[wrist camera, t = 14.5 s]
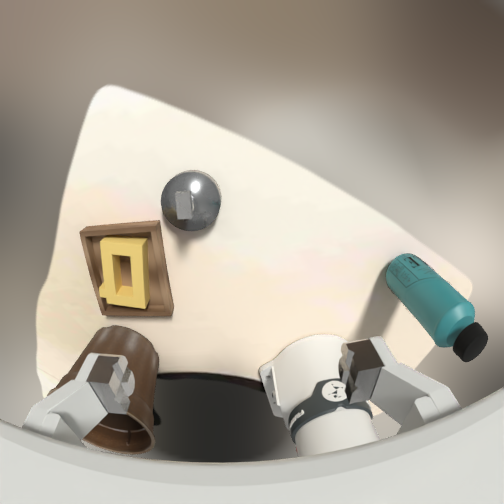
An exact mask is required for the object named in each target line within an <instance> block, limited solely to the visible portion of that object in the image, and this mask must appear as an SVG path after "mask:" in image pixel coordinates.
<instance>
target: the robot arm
mask: <svg viewBox="0 0 504 504" xmlns="http://www.w3.org/2000/svg"><path fill="white" fill-rule="evenodd" d="M127 364H128V361H127V359H126V357H125V356H123V355H112V354H98V353H90V354H88V356H87V358H86V359H85V361H84V363H83V365H82V367H81V369H80V371H79V373H78V375H77V376H76V378H75V380H71V381H69V382H68V383H66V384H65V385H63V386H62V387H60V388H59V389H57V390H56V391H55V392H53V393H52V394H50V395H49V396H47V397H46V398H44V399H43V400H41V401H40V402H38V403H37V404H35V405H34V406H33V407H32V409H31V410H30V412H29V414H28V416H27V418H26V420H25V422H24V424H23V426H22V428H21V427H18V426H16V425H13V424H11V423H9V422H6V421H4V420H1V419H0V504H504V387H503V388H501V389H500V390H498V391H496V392H494V393H492V394H491V395H489V396H487V397H485V398H483V399H481V400H479V401H477V402H475V403H473V404H471V405H469V406H467V407H465V408H463V409H462V408H461V407H460V405H459V403H458V402H457V400H456V399H455V397H454V395H453V394H452V392H451V391H450V389H449V388H448V387H447V386H445V385H443V384H441V383H439V382H437V381H435V380H434V379H432V378H430V377H428V376H426V375H424V374H422V373H420V372H418V371H416V370H414V369H412V368H410V367H409V366H407V365H405V364H403V363H397V361H396V359H395V358H394V356H393V354H392V353H391V351H390V349H389V348H388V346H387V345H386V343H385V341H384V340H383V338H382V337H381V336H377V337H372V338H368V339H362V340H356V341H350V342H348V341H347V340H345V339H344V338H342V337H339V336H336V335H330V334H320V335H313V336H309V337H305V338H302V339H300V340H298V341H296V342H294V343H292V344H290V345H289V346H287V347H286V348H285V349H284V350H283V351H282V352H281V353H280V354H279V355H278V356H277V357H276V358H275V359H274V360H272V361H270V362H268V363H266V364H264V365H263V366H261V367H260V369H259V372H260V376H261V379H262V382H263V385H264V388H265V391H266V394H267V397H268V400H269V403H270V406H271V409H272V412H273V414H274V416H277V417H281V418H283V419H284V422H285V426H286V428H287V429H288V430H289V432H290V436H291V438H292V440H293V442H294V443H295V444H296V451H297V454H298V457H296V458H287V459H278V460H268V461H255V462H234V463H200V462H177V461H165V460H155V459H146V458H138V457H131V456H125V455H118V454H113V453H108V452H103V451H98V450H94V449H89V448H87V447H86V446H85V445H84V444H83V443H82V442H81V440H82V439H83V438H84V437H85V436H86V435H87V434H88V433H89V432H90V431H91V430H92V429H93V428H94V427H95V426H96V425H97V424H98V423H99V422H100V421H101V420H102V419H103V418H104V417H105V416H106V415H107V414H108V413H117V414H127V411H128V407H129V404H130V400H129V398H128V397H129V396H130V395H131V394H132V393H133V391H134V388H135V379H134V375H133V373H132V371H131V370H130V369H129V368H128V367H127ZM268 375H269V376H268ZM367 400H370V401H371V402H372V403H374V404H375V405H376V406H377V407H379V408H380V409H381V410H382V411H384V412H385V413H386V414H388V415H389V416H390V417H391V418H393V419H394V420H395V421H397V422H398V423H399V424H400V425H402V426H401V428H400V429H399V431H398V433H397V434H396V435H394V436H391V437H388V438H385V439H381V440H380V439H379V436H378V434H377V432H376V429H375V427H374V425H373V422H372V417H373V415H372V412H371V407H370V404H369V402H368V401H367Z"/></svg>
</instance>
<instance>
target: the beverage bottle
mask: <svg viewBox="0 0 504 504" xmlns="http://www.w3.org/2000/svg"><path fill="white" fill-rule="evenodd" d="M431 268H432V267H431ZM431 268H430V267H429V265H427V264H426V262H423V261H422V260H421V258H419V257H416V256H415V255H413V254H408V253H406V254H402V255H399V256H398V257H396V258H395V259H394V260H393V261H392V262H391V264H390V265H389V267H388V269H387V273H386V281H387V284H388V285H387V286H389V288H390V289H391V292H392V291H393V292H392V293H393V294H394V293H395V295H396V296H397V297H398V299H400V300H401V303H403V304H404V305H405V307H407V308H406V309H408V310H409V311H410V312H411V313H412V314H413V315H414V316H415V318H416V319H417V320H418V321H419V322H420V324H421V325H422V326H423V327H424V329H425V330H426V331H427V332H428V334H429V335H430V336H431V337H432V339H433V340H434V342H435V344H436V345H437V346H439V347H451V346H453V351H454V352H455V354H456V355H458V356H459V357H460V358H461V360H462V361H464V362H469V361H471V360H473V359H474V358H476V357H477V356H478V355H479V354H480V353H481V352H482V350H483V349H484V347H485V346H486V344H487V340H488V336H487V333H486V332H485V331H484V329H483V328H482V326H480V324H479V323H477V322H475V323H474V317H475V310H474V307H473V305H472V304H471V303H470V302H469V301H467V300H466V299H465V298H464V297H463V296H462V295H461V294H460V293H459V292H457V291H456V290H457V289H456V290H455V289H454V288H453V287H452V286H451V285H450V284H449V283H448V281H447V282H446V280H444V279H443V278H442V277H441V276H439V275H438V274H437V273H436V272H435V270H434V269H433V268H432V269H433V270H432V269H431ZM409 311H408V312H409Z"/></svg>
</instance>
